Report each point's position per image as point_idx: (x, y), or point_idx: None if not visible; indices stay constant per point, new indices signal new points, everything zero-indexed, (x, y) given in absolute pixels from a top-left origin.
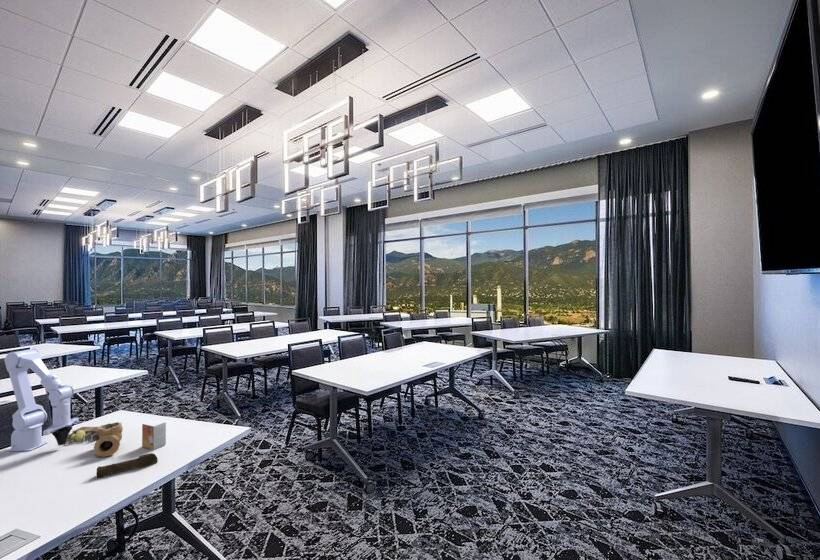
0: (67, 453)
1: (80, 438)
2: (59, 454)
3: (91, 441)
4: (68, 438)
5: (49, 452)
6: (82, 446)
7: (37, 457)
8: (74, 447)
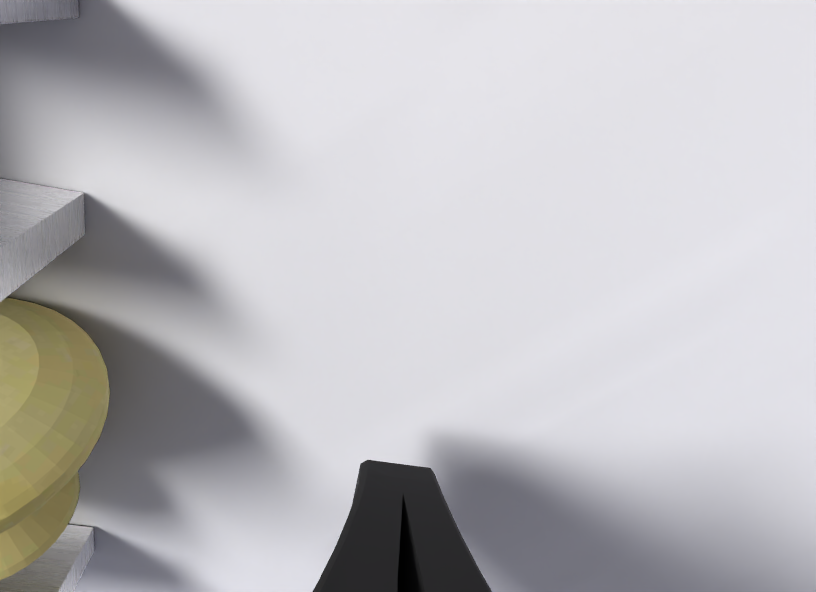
0: (694, 181)
1: (31, 342)
2: (681, 315)
3: (70, 2)
4: (31, 578)
5: (508, 528)
6: (345, 77)
7: (668, 569)
8: (371, 240)
